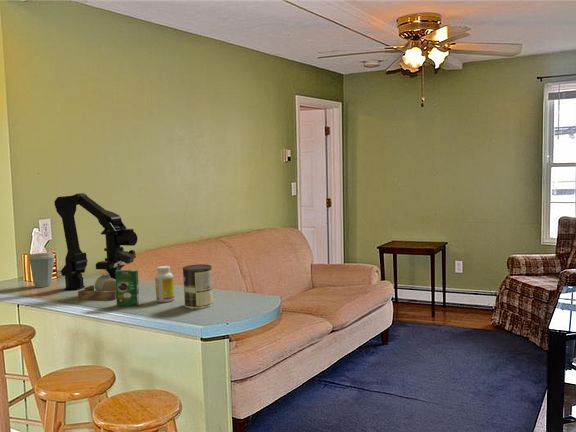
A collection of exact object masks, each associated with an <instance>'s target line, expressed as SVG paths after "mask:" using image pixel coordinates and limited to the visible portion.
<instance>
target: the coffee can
mask: <svg viewBox="0 0 576 432" xmlns="http://www.w3.org/2000/svg"><path fill="white" fill-rule="evenodd" d="M182 275H183V277H182V278H183V279H182V280H183V293H184V294H183V295H184V297H183V298H184V299H183V300H184V307H185V308H187V309H189V310H190V309H191V310H198V309H206V308H210V307H212V306H213V305H214V300H213V299H214V298H213V297H214V296H213V276H212V275H213V274H212V265H210V264H205V263H203V264H200V263H199V264H189V265H185V266H182Z"/></svg>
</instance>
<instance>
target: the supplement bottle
mask: <svg viewBox="0 0 576 432" xmlns="http://www.w3.org/2000/svg"><path fill="white" fill-rule="evenodd" d="M156 270H157V273H156V274H155V276H154V278H155V279H154V280H155V281H154V282H155V296H156V301H157V303H170V302H173V301H174V300H175V288H174V287H175V286H174V285H175V283H174V275H173V273H172V272H171V271H170V270H171V267H170V266H169V265H163V266H157V267H156Z"/></svg>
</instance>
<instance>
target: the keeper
mask: <svg viewBox="0 0 576 432" xmlns="http://www.w3.org/2000/svg"><path fill="white" fill-rule="evenodd" d="M83 288H84V289H83V290H78V291H77V296H78V300H109V301H110V300H113V301H115V300H116V290H114V291H96V290H95V284H93V285H92V284H91V285H88V286H85V287H83ZM116 301H117V300H116Z"/></svg>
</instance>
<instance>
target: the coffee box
mask: <svg viewBox="0 0 576 432" xmlns="http://www.w3.org/2000/svg"><path fill="white" fill-rule="evenodd" d="M115 277H116V306H117V307H124V306H125V307H129V306H132V307H134V306H137V307H138V306H139V304H140V294H139V293H140V291H139V287H140V286H139V270H138V269H121V270H116V271H115Z"/></svg>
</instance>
